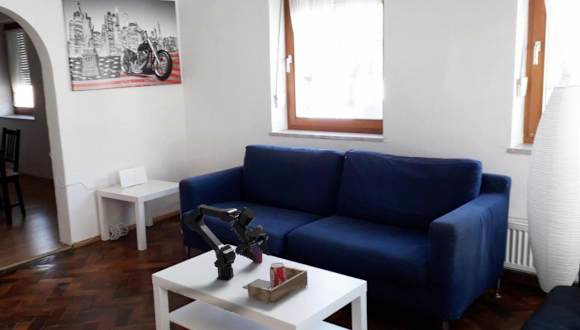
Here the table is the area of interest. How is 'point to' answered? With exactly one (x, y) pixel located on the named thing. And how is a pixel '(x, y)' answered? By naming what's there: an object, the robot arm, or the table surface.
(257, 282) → the mat
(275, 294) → the crate
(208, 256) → the table surface
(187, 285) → the table surface
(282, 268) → the soda can
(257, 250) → the cup
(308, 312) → the table surface
